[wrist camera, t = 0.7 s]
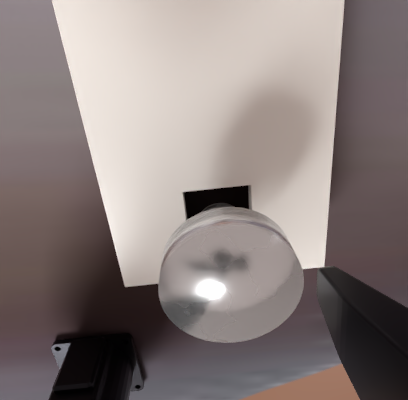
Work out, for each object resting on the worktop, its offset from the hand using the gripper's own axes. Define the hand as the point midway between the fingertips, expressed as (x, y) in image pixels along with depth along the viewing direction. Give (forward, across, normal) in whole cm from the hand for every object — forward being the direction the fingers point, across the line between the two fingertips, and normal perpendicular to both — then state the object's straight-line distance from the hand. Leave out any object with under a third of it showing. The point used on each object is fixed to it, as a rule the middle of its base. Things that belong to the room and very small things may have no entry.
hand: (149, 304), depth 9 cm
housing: (+13, -3, -4) cm, 14 cm away
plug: (+9, -2, +3) cm, 9 cm away
